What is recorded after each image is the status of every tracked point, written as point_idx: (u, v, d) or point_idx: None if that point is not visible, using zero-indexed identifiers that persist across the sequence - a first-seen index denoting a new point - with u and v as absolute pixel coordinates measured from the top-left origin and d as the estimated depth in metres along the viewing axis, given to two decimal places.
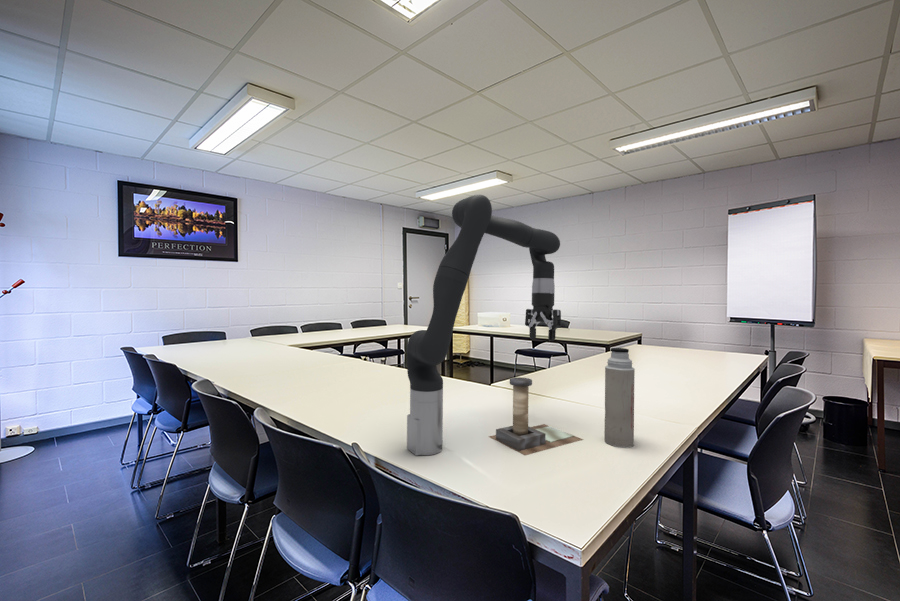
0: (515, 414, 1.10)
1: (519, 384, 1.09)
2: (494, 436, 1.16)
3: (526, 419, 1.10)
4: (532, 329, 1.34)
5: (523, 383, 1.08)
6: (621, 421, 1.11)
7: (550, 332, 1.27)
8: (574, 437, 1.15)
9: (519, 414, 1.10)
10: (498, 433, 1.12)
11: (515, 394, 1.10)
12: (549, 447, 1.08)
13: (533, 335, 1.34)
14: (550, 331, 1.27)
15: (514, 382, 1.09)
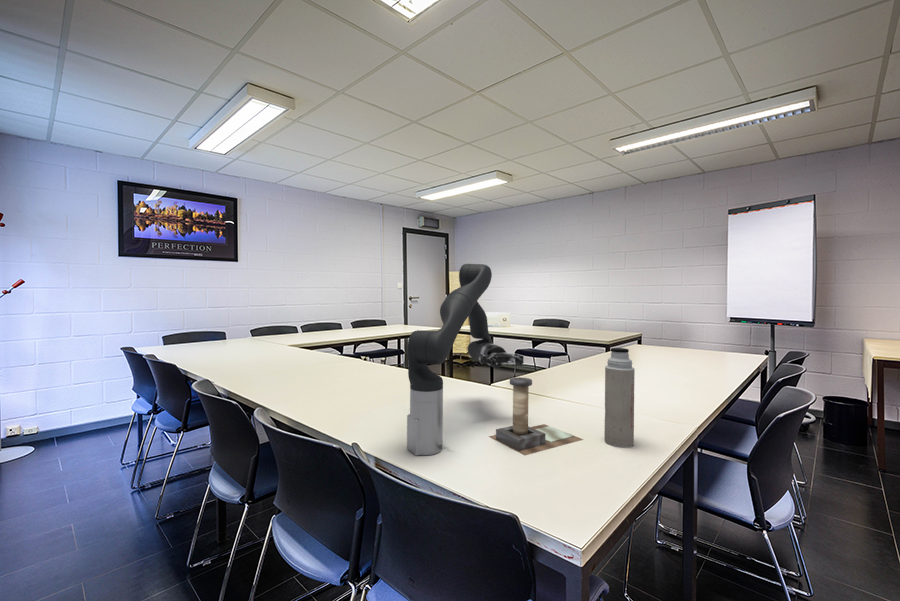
0: (515, 414, 1.10)
1: (519, 384, 1.09)
2: (494, 436, 1.16)
3: (526, 419, 1.10)
4: None
5: (523, 383, 1.08)
6: (621, 421, 1.11)
7: (518, 358, 1.26)
8: (574, 437, 1.15)
9: (519, 414, 1.10)
10: (498, 433, 1.12)
11: (515, 394, 1.10)
12: (549, 447, 1.08)
13: None
14: (518, 358, 1.26)
15: (514, 382, 1.09)
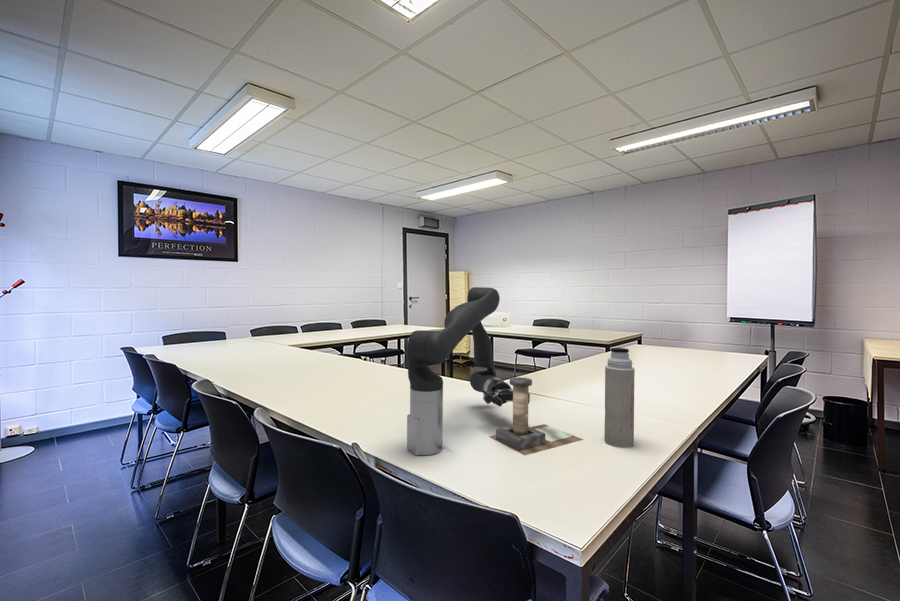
0: (515, 414, 1.10)
1: (519, 384, 1.09)
2: (494, 436, 1.16)
3: (526, 419, 1.10)
4: None
5: (523, 383, 1.08)
6: (621, 421, 1.11)
7: None
8: (574, 437, 1.15)
9: (519, 414, 1.10)
10: (498, 433, 1.12)
11: (515, 394, 1.10)
12: (549, 447, 1.08)
13: None
14: None
15: (514, 382, 1.09)
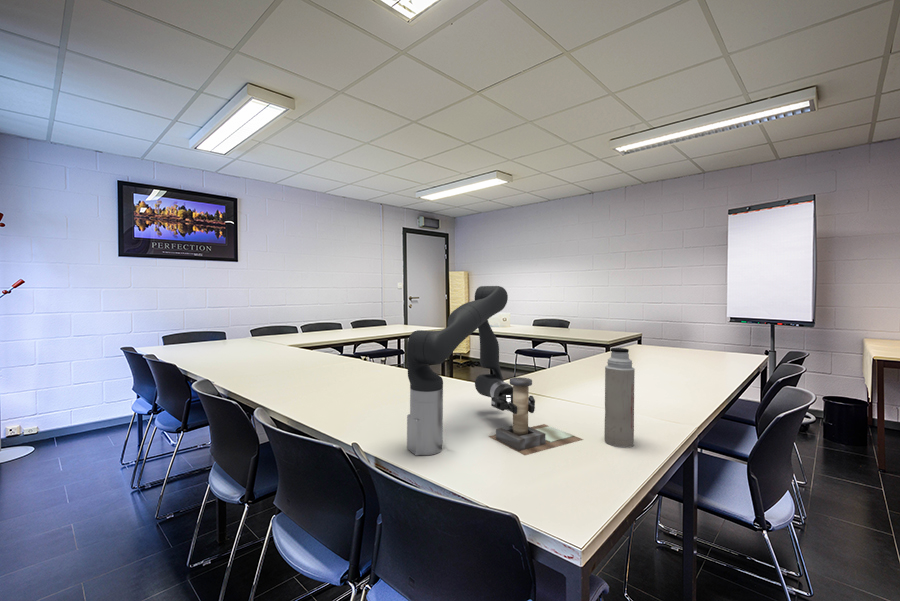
0: (515, 414, 1.10)
1: (519, 384, 1.09)
2: (494, 436, 1.16)
3: (526, 419, 1.10)
4: None
5: (523, 383, 1.08)
6: (621, 421, 1.11)
7: (529, 403, 1.12)
8: (574, 437, 1.15)
9: (519, 414, 1.10)
10: (498, 433, 1.12)
11: (515, 394, 1.10)
12: (549, 447, 1.08)
13: None
14: (529, 403, 1.13)
15: (514, 382, 1.09)
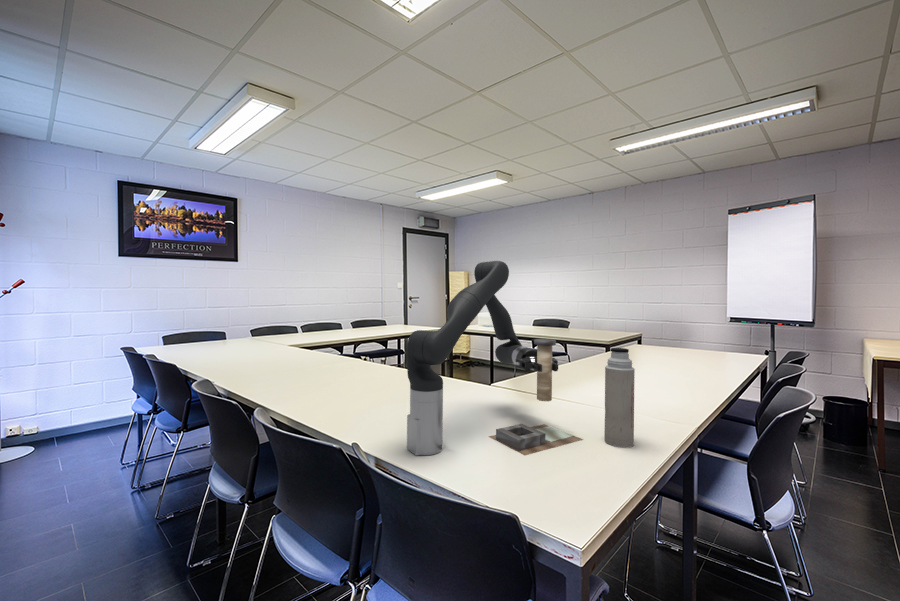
0: (540, 373, 1.15)
1: (544, 343, 1.14)
2: (494, 436, 1.16)
3: (550, 377, 1.15)
4: None
5: (548, 342, 1.13)
6: (621, 421, 1.11)
7: None
8: (574, 437, 1.15)
9: (543, 372, 1.15)
10: (498, 433, 1.12)
11: (540, 353, 1.15)
12: (549, 447, 1.08)
13: None
14: None
15: (539, 342, 1.14)
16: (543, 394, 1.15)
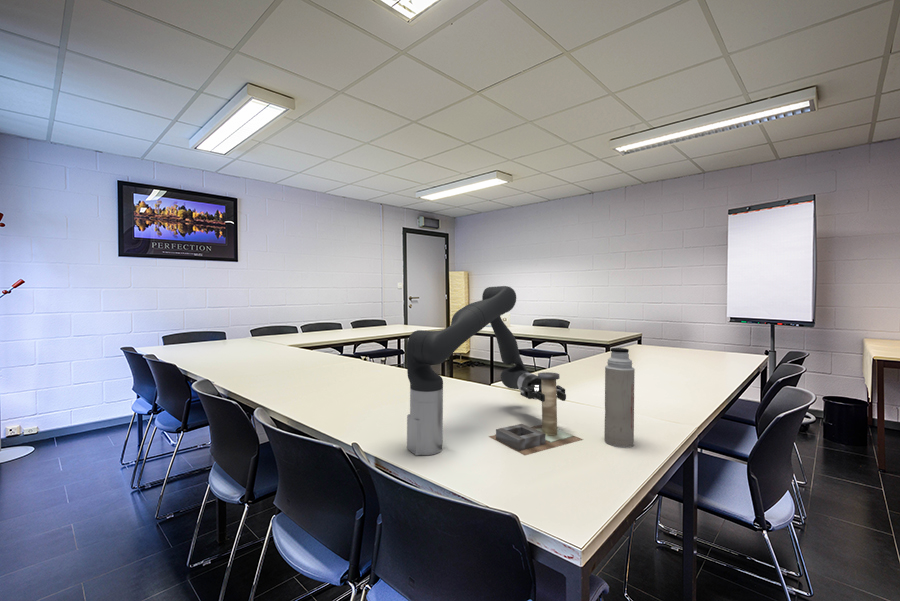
0: (544, 406, 1.17)
1: (548, 378, 1.15)
2: (494, 436, 1.16)
3: (555, 411, 1.17)
4: None
5: (551, 377, 1.15)
6: (621, 421, 1.11)
7: (561, 392, 1.19)
8: (574, 437, 1.15)
9: (548, 406, 1.16)
10: (498, 433, 1.12)
11: (544, 387, 1.17)
12: (549, 447, 1.08)
13: None
14: (560, 391, 1.19)
15: (543, 376, 1.16)
16: (549, 428, 1.16)
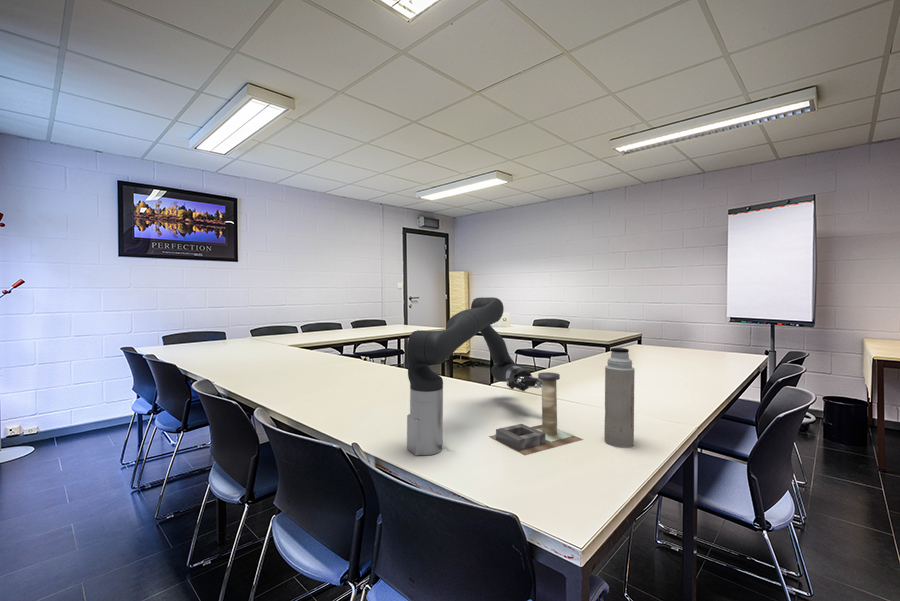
0: (544, 407, 1.17)
1: (548, 378, 1.15)
2: (494, 436, 1.16)
3: (555, 411, 1.16)
4: None
5: (552, 377, 1.15)
6: (621, 421, 1.11)
7: None
8: (574, 437, 1.15)
9: (548, 406, 1.16)
10: (498, 433, 1.12)
11: (544, 388, 1.17)
12: (549, 447, 1.08)
13: None
14: None
15: (543, 376, 1.16)
16: (549, 428, 1.16)
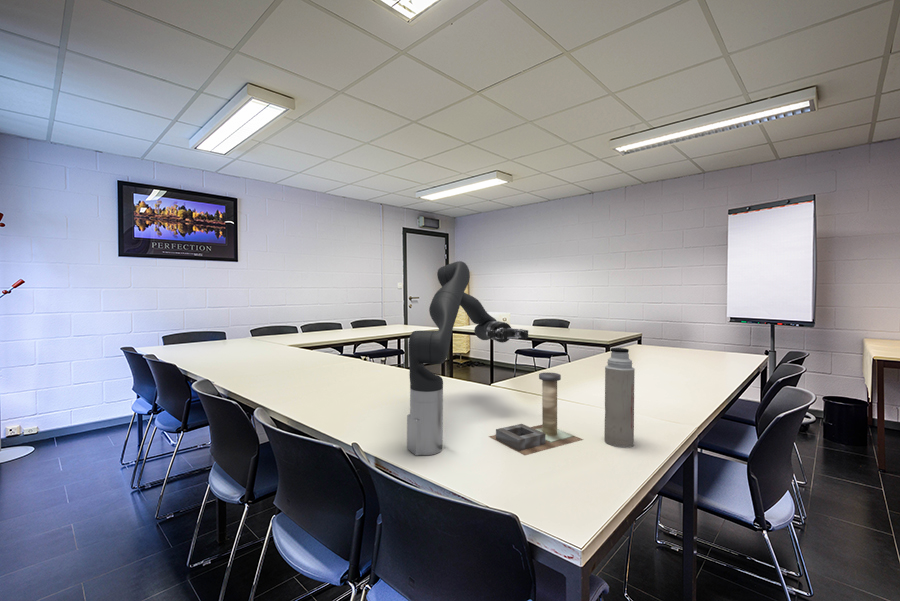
0: (545, 407, 1.16)
1: (549, 379, 1.15)
2: (494, 436, 1.16)
3: (555, 412, 1.16)
4: None
5: (552, 378, 1.14)
6: (621, 421, 1.11)
7: None
8: (574, 437, 1.15)
9: (549, 407, 1.16)
10: (498, 433, 1.12)
11: (545, 388, 1.16)
12: (549, 447, 1.08)
13: None
14: None
15: (544, 377, 1.15)
16: (549, 428, 1.16)
